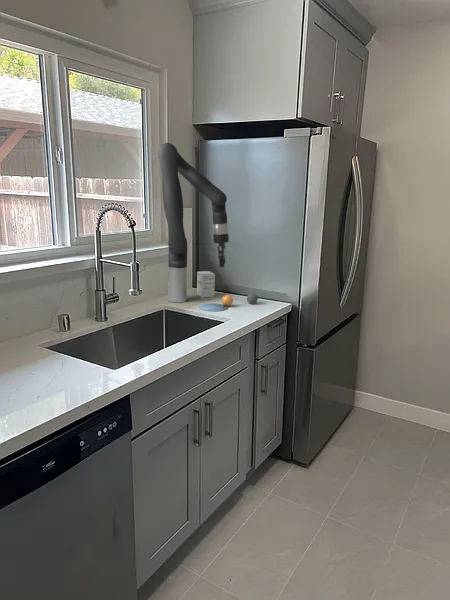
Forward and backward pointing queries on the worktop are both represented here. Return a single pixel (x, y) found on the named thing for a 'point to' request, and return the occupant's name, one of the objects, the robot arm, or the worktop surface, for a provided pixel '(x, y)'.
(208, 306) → the blue mark
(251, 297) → the gray ball
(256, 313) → the worktop surface
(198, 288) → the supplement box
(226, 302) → the orange ball
